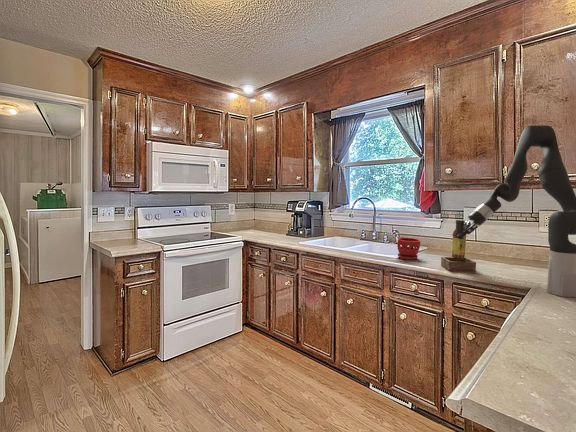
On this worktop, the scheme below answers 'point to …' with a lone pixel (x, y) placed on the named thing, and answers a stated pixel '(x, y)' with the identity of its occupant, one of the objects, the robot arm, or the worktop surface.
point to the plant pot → (408, 248)
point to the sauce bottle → (458, 241)
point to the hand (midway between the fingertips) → (455, 237)
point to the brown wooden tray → (458, 264)
